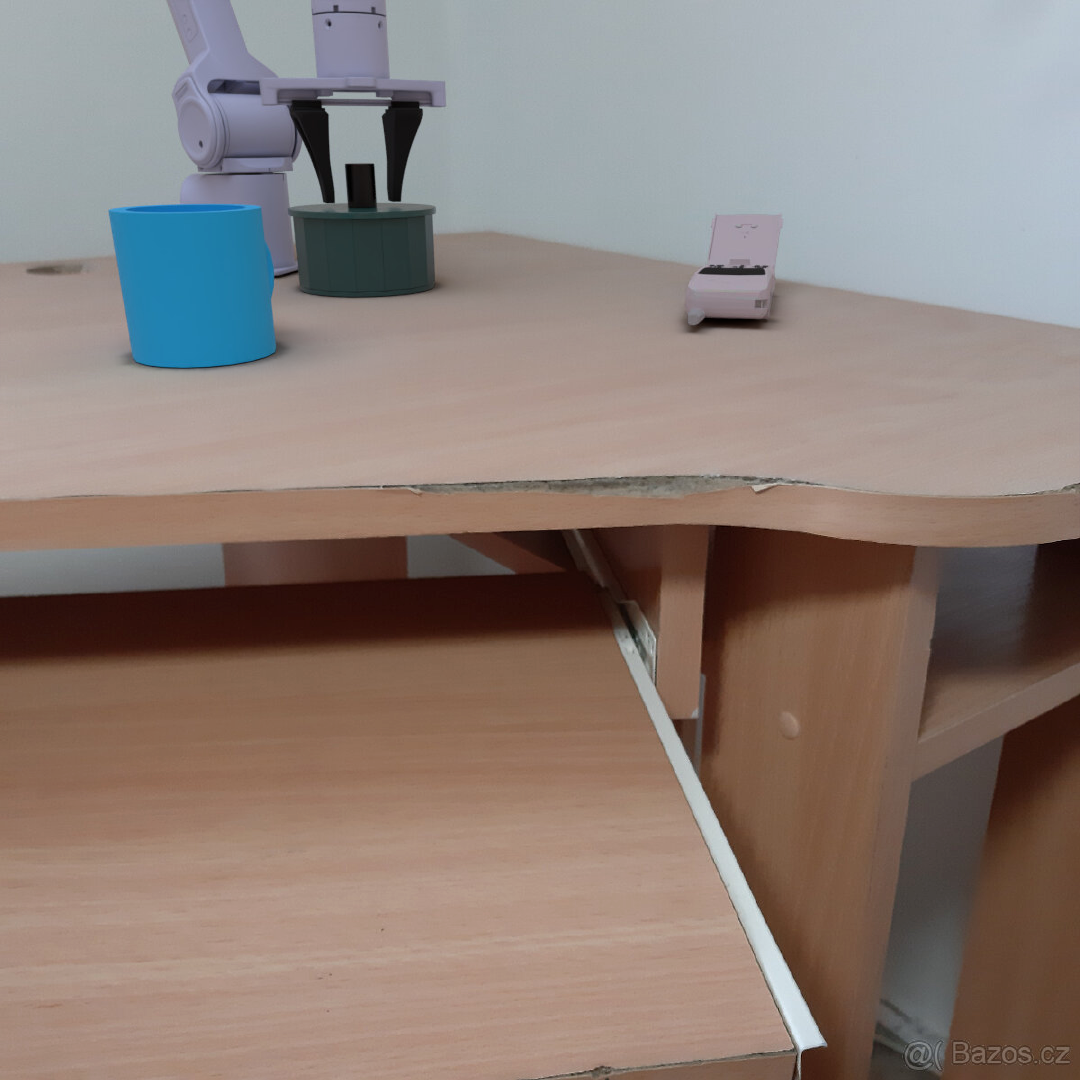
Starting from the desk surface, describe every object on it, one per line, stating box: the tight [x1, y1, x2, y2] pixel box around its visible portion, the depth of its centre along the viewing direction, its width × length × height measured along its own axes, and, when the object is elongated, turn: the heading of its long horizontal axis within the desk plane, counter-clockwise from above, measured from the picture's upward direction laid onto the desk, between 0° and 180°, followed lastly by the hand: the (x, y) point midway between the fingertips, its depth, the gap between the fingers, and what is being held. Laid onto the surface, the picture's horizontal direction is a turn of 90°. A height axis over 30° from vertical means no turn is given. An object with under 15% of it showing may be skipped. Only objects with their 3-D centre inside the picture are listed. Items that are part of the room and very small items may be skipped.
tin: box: [292, 215, 436, 298], centre depth 81 cm, size 11×11×6 cm
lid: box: [288, 162, 437, 219], centre depth 79 cm, size 12×12×4 cm
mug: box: [107, 203, 277, 369], centre depth 57 cm, size 12×8×8 cm
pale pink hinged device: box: [684, 213, 784, 326], centre depth 72 cm, size 6×6×25 cm
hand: (362, 202), depth 80 cm, fingers open, 5 cm apart
